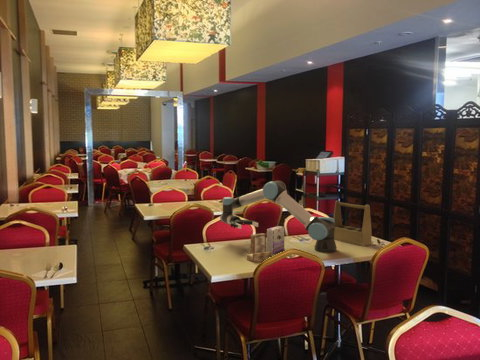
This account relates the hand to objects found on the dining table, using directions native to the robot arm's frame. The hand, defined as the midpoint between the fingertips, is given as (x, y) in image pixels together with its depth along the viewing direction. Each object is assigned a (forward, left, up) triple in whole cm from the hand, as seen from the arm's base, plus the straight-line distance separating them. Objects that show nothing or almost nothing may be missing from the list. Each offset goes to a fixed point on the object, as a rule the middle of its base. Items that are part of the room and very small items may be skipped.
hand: (249, 226), depth 307 cm
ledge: (+5, +20, -18) cm, 27 cm away
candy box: (-16, +8, -18) cm, 25 cm away
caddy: (-82, +13, -18) cm, 85 cm away
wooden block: (0, +11, -18) cm, 21 cm away
